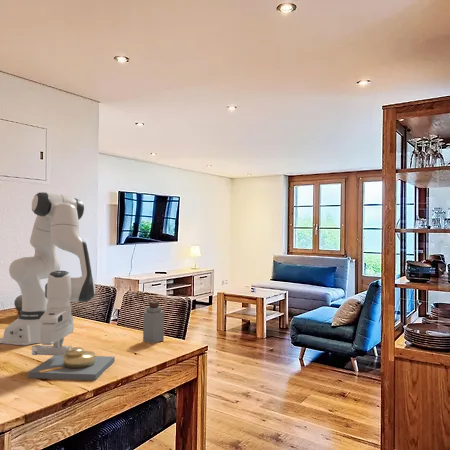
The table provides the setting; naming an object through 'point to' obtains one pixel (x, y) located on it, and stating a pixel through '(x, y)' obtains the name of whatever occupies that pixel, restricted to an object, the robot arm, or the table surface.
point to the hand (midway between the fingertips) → (58, 350)
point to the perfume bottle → (153, 323)
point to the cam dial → (67, 355)
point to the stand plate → (70, 369)
